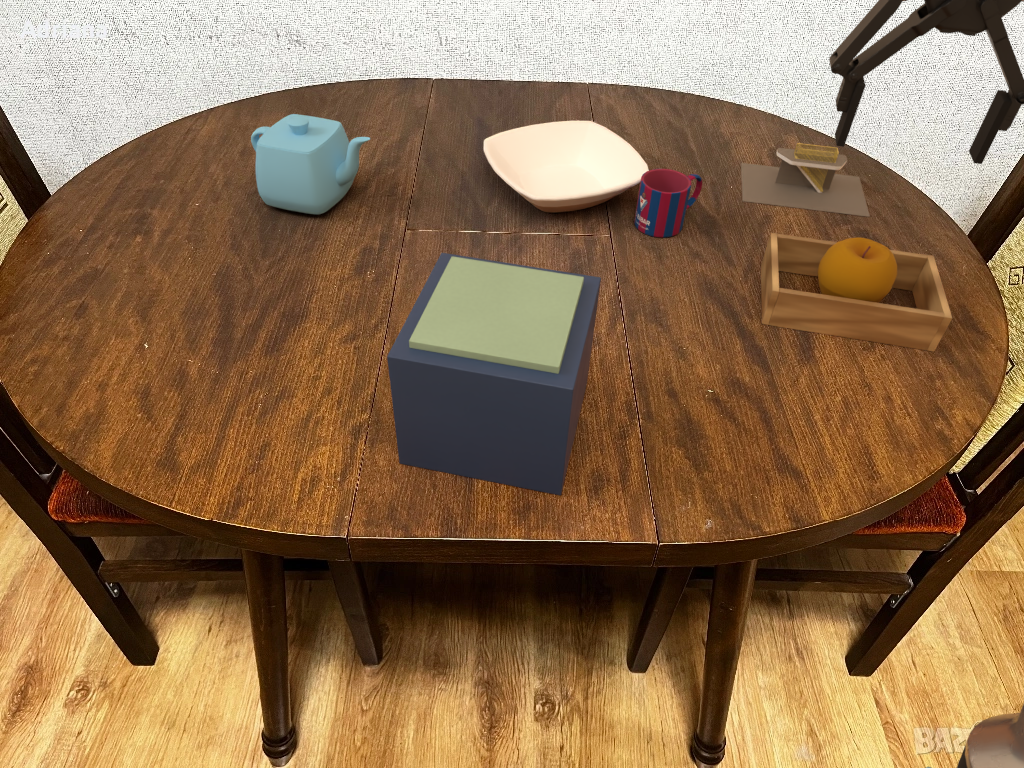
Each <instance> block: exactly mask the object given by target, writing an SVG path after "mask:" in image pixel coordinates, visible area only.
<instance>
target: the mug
mask: <svg viewBox="0 0 1024 768" xmlns="http://www.w3.org/2000/svg"><path fill="white" fill-rule="evenodd" d="M693 180H696V181H695V188H694V191H693V192H692V194H691V196H690V193H691V189H692V181H693ZM702 188H703V179H702V177H701V175H699V174H697V173H691V174H688V175H686V174H685V173H682V172H681V171H678V170H675V169H670V168H653V169H649V171H647V172H645V173H644V174H643V175H642V176H641V182H640V183H639V189H638V195H637V200H636V201H637V202H636V206H635V214H634V220H633V223H634V226H635V228H636V229H637V230H638V231H639V232H640V233H642V234H643V235H645V236H646V235H647V236H649V237H653V238H659V239H660V238H671V237H674V236H677V235H678V234H680V233H681V232H682V230H683V226H684V221H685V217H686V213H687V210H688V209H689V208H691V207H692V206H693V205H694V203H695V202H696V201H697V200H698V198H699V196H700V194H701V192H702Z"/></svg>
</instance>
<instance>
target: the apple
mask: <svg viewBox="0 0 1024 768" xmlns="http://www.w3.org/2000/svg"><path fill="white" fill-rule="evenodd" d="M836 242H837V243H836V244H834V245H833V246H831V247H830V248H829V249H828V250H827V252H826V253H825V255H824V256H823V258H822V259H821V261H820V264H819V268H818V277H817V280H818V287H819V290H820V294H823V295H830V296H836V297H843V298H850V299H856V300H863V301H869V302H876V303H881V302H882V300H884V299H885V297H886V296H888V295H889V293H890V292H891V290H892V289H893V288H892V286H893V284H894V281H895V279H896V276H897V264H896V260H895V258H894V255H893V253H892V252H891V251H890V250H891V249H889V247H887V246H886V245H884V244H882V243H880V242H878V241H875V240H874V239H871V238H866V237H847V238H845V239H841V240H839V241H836Z"/></svg>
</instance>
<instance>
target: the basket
mask: <svg viewBox="0 0 1024 768" xmlns="http://www.w3.org/2000/svg"><path fill="white" fill-rule="evenodd" d="M837 242H838V241H832V240H825V239H820V238H819V239H818V238H811V237H805V236H799V235H798V236H797V235H796V236H795V235H790V234H782V233H777V232H770V235H769V238H768V241H767V244H766V247H765V250H764V253H763V257H762V260H761V262H760V263H761V264H760V283H761V284H760V290H761V291H760V294H761V295H760V296H761V301H760V303H761V325H765V326H771V327H778V328H785V329H790V330H796V331H802V332H803V331H804V332H808V333H815V334H822V335H826V336H827V335H828V336H835V337H841V338H847V339H852V340H859V341H866V342H872V343H877V344H885V345H891V346H897V347H903V348H909V349H914V350H922V351H927V352H935V351H936V350H937V347H938V346H939V344H940V342H941V340H942V339H943V337H944V335H945V332H946V331H947V329H948V327H949V325H950V323H951V322H952V320H953V316H952V311H951V308H950V306H949V302H948V299H947V295H946V293H945V289H944V286H943V282H942V279H941V276H940V273H939V269H938V266H937V263H936V258H935V256H934V255H931V254H923V253H916V252H909V251H902V250H895V249H889V250H890V251H891V252H892V253H893V255H894V258H895V260H896V264H897V276H896V279H895V281H894V284H893V286H892V288H891V289H897V290H903V291H911V292H912V296H913V300H914V305H915V307H908V306H902V305H895V304H887V303H881V302H879V303H876V302H869V301H863V300H856V299H850V298H843V297H836V296H830V295H823V294H822V293H816V292H809V291H802V290H798V289H797V290H796V289H790V288H783V287H780V273H779V272H785V273H791V274H797V275H804V276H810V277H816V278H818V268H819V264H820V261H821V259H822V258H823V256H824V255H825V253H826V252H827V250H828V249H829V248H830V247H831V246H833V245H834V244H836V243H837Z"/></svg>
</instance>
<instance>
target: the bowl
mask: <svg viewBox="0 0 1024 768" xmlns="http://www.w3.org/2000/svg"><path fill="white" fill-rule="evenodd" d="M483 153H484V155H485V158H486V160H487V162H488V164H489V165H490V167H491V168H492V170H493V171H494V172H495V174H497V176H499V177H500V179H501V180H503V181H504V182H505V183H506V184H507V185H508V186H509V187H510V188H511V189H513V190H514V191H515V192H516V193H518V194H519V195H520V196H521V197H522V198H524V199H525V200H526V201H527V202H529V203H530V204H531V205H532V206H533V207H535V208H536V209H538V210H540V211H541V212H543V213H565V212H574V211H579V210H584V209H589V208H593V207H596V206H598V205H601V204H604V203H606V202H609V200H612V199H613V198H615V197H617V196H619V195H622V193H624V192H626V191H628V190H629V189H632V188H633V187H635V186H637V185H638V184H640V182H641V176H642V175H643V174H644V173H645V172H647V171H649V170H650V169H649V166H648V163H647V162H646V161H645V160H644V158H643V157H642V156H641V154H640V153H639V152H638V151H637V150H636V149H635V148H634V147H633V146H632V145H631V144H630V143H629V142H628V141H626V140H625V138H623V137H621V136H620V135H618V134H617V133H615V132H614V131H612V130H610V129H609V128H607V127H606V126H603V125H602V124H599V123H597V122H594V121H592V120H562V121H561V120H560V121H550V122H545V123H544V122H543V123H537V124H536V123H535V124H530V125H526V126H525V125H524V126H521V127H516V128H512V129H508V130H505V131H501V132H497V133H495V134H493V135H491V136H489V137H487V138H485V139H483Z"/></svg>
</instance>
